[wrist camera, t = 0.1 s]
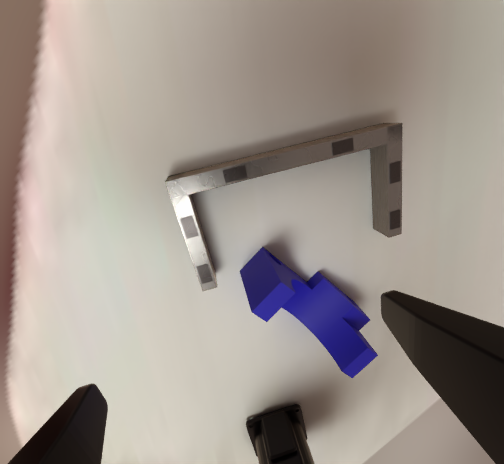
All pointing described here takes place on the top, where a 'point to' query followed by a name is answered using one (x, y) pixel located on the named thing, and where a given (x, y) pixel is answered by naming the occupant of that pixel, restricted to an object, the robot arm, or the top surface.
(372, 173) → the rail bay
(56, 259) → the top surface
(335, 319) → the cable clip
